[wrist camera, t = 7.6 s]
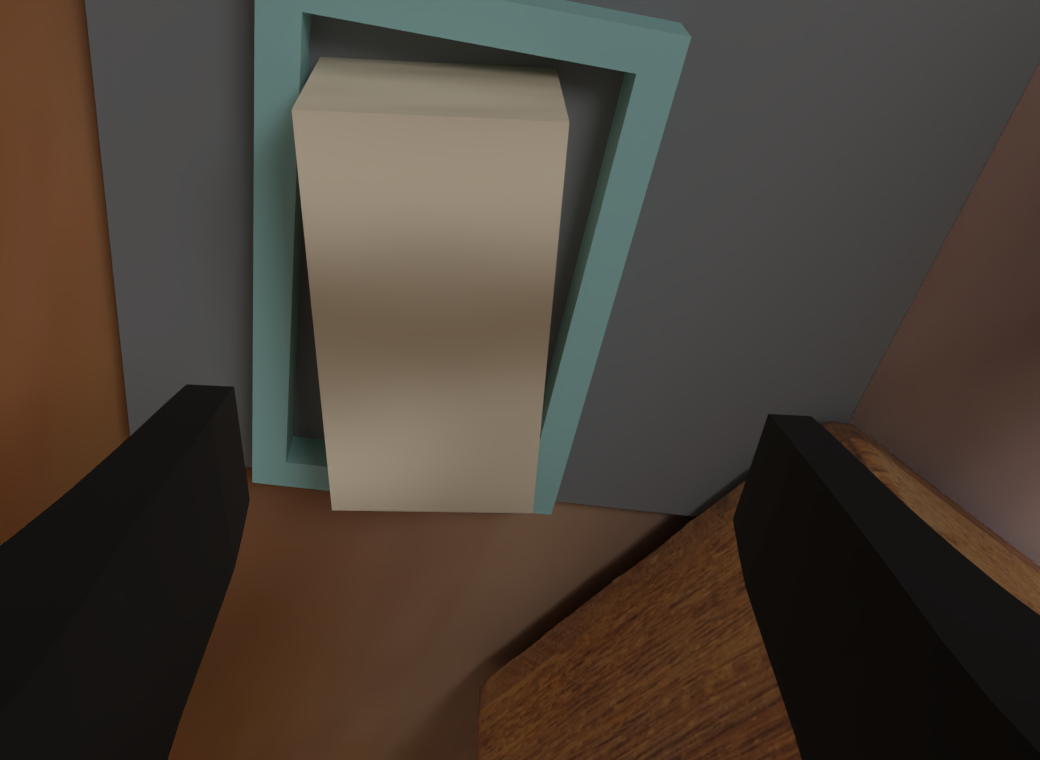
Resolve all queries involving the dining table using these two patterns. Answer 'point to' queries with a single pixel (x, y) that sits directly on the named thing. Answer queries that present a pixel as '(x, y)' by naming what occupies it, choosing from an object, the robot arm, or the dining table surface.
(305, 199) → the beige block
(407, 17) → the teal frame
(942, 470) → the dining table surface
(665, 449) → the rubber mat
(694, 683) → the wooden box
